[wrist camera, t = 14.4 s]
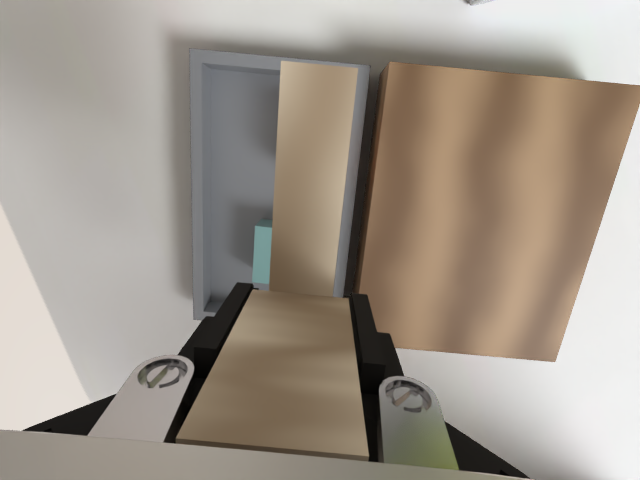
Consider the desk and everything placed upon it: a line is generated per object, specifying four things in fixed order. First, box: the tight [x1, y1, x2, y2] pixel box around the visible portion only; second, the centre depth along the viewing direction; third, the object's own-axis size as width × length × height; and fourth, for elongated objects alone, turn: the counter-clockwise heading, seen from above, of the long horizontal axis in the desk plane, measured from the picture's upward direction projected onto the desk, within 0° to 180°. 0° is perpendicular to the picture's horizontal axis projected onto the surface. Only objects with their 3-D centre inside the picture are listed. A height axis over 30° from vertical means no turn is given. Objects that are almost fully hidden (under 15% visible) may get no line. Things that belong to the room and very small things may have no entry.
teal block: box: [252, 219, 272, 284], centre depth 27 cm, size 4×4×2 cm
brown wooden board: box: [352, 62, 640, 362], centre depth 25 cm, size 16×20×4 cm
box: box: [189, 48, 371, 320], centre depth 26 cm, size 12×20×2 cm, turn 175°
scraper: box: [176, 61, 369, 461], centre depth 9 cm, size 3×16×8 cm, turn 175°
